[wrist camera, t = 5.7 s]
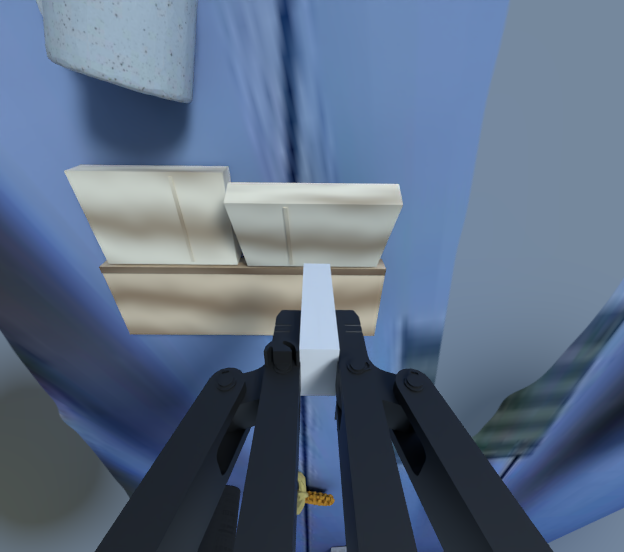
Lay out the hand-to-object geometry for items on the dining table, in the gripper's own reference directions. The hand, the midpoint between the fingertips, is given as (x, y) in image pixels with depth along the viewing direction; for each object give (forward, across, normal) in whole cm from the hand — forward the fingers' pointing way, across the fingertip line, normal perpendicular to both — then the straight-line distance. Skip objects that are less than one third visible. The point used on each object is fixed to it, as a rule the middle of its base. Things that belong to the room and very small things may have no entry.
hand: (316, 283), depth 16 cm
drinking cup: (+13, -17, -60) cm, 63 cm away
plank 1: (+12, -14, 0) cm, 18 cm away
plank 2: (+9, 0, 0) cm, 9 cm away
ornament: (+13, -1, -56) cm, 58 cm away
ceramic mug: (+12, -13, +14) cm, 22 cm away
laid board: (+12, -7, -9) cm, 17 cm away
